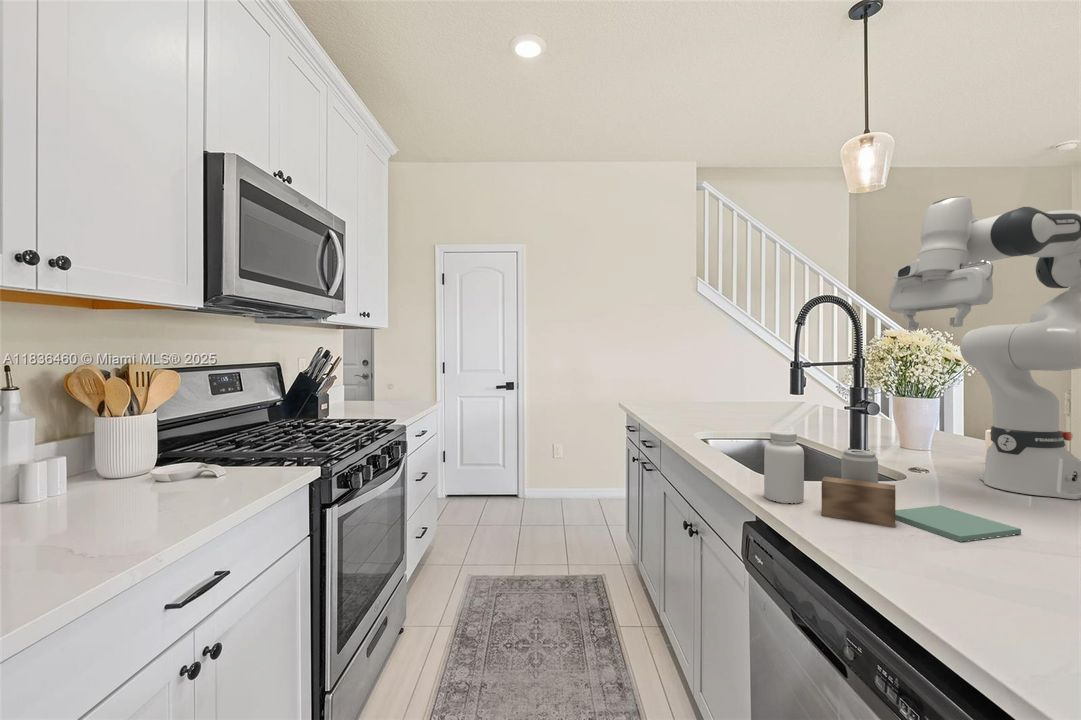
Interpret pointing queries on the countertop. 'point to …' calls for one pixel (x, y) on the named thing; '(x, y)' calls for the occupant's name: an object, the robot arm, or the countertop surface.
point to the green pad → (953, 523)
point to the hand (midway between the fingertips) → (933, 328)
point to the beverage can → (859, 466)
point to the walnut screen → (858, 501)
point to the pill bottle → (784, 468)
